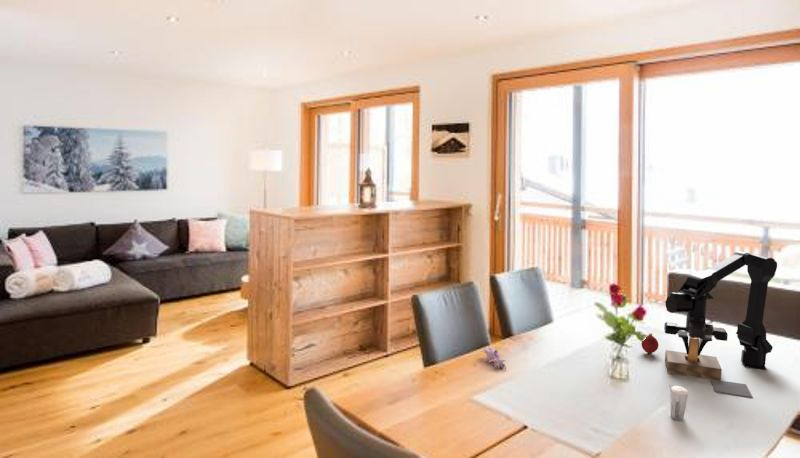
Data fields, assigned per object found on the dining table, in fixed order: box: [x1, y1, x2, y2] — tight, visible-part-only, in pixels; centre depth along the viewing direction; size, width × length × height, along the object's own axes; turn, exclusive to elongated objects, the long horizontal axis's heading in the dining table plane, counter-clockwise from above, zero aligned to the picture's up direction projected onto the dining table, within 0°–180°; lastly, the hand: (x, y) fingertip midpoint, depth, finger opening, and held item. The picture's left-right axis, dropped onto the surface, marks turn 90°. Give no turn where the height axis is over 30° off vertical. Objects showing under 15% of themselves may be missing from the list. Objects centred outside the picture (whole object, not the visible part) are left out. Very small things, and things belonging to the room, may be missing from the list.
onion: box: [640, 332, 660, 355], centre depth 200 cm, size 6×6×8 cm
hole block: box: [664, 349, 723, 381], centre depth 186 cm, size 16×12×4 cm
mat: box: [710, 379, 753, 399], centre depth 171 cm, size 10×10×1 cm
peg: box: [687, 336, 700, 362], centre depth 185 cm, size 3×3×10 cm
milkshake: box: [668, 384, 689, 422], centre depth 151 cm, size 4×5×10 cm
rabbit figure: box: [483, 347, 507, 371], centre depth 191 cm, size 6×6×15 cm
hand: (692, 354), depth 185 cm, fingers closed on peg, 3 cm apart
